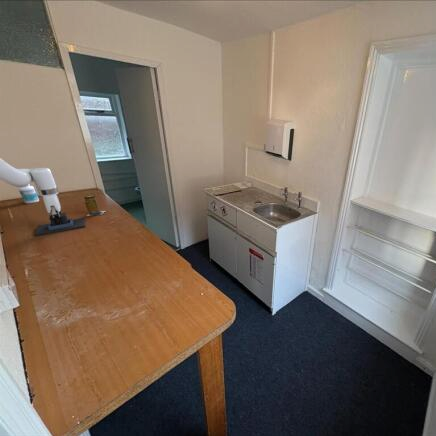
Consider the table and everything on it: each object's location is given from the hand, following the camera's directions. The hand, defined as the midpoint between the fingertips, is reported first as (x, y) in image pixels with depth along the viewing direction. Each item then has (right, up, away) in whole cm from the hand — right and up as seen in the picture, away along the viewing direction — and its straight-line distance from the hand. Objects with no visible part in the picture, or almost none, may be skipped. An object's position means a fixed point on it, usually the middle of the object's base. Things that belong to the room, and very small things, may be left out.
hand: (60, 221), depth 131 cm
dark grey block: (0, 0, 0) cm, 0 cm away
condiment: (+3, +5, +21) cm, 22 cm away
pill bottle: (-54, +14, +34) cm, 66 cm away
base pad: (0, -3, +1) cm, 3 cm away
